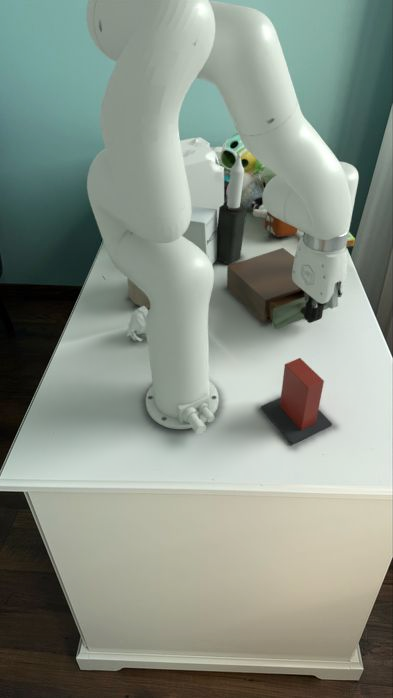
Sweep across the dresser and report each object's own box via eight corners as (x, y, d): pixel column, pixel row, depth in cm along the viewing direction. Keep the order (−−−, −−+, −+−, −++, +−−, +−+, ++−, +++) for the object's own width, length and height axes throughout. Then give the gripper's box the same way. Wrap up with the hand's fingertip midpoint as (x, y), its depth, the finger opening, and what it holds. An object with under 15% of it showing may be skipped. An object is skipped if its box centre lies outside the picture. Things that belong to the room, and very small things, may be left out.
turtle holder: (279, 181, 157) (254, 191, 150) (236, 164, 166) (210, 172, 160) (286, 140, 149) (259, 149, 142) (240, 124, 158) (213, 131, 151)
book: (315, 423, 84) (324, 380, 77) (301, 430, 83) (308, 387, 76) (293, 399, 88) (299, 357, 81) (279, 406, 87) (284, 363, 80)
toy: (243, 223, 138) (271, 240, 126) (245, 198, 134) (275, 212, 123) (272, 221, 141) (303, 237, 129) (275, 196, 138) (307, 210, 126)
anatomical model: (259, 214, 146) (238, 225, 140) (232, 182, 147) (210, 191, 141) (278, 191, 138) (257, 201, 132) (249, 157, 139) (226, 165, 133)
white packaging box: (207, 273, 119) (204, 223, 110) (179, 267, 121) (174, 218, 113) (219, 257, 123) (217, 208, 115) (192, 252, 126) (188, 204, 118)
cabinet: (320, 302, 109) (324, 278, 105) (263, 324, 104) (265, 300, 100) (280, 270, 119) (282, 247, 115) (226, 289, 114) (227, 265, 110)
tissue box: (206, 131, 132) (114, 147, 124) (236, 150, 121) (137, 170, 113) (206, 205, 146) (123, 224, 138) (233, 228, 135) (145, 250, 127)
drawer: (332, 311, 105) (335, 294, 103) (278, 332, 101) (280, 314, 98) (289, 276, 115) (291, 260, 112) (239, 294, 111) (240, 278, 108)
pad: (331, 425, 84) (332, 423, 84) (292, 445, 81) (292, 442, 81) (298, 391, 90) (298, 389, 90) (260, 408, 87) (260, 406, 87)
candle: (212, 256, 123) (222, 153, 107) (225, 249, 126) (237, 147, 110) (229, 265, 121) (241, 160, 104) (242, 257, 124) (256, 154, 107)
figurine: (202, 325, 104) (196, 294, 102) (136, 347, 97) (129, 313, 95) (184, 321, 110) (179, 291, 108) (121, 341, 103) (114, 310, 101)
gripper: (282, 223, 93) (275, 304, 105) (336, 262, 83) (321, 346, 95) (315, 213, 95) (305, 294, 107) (371, 249, 85) (352, 333, 97)
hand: (312, 318), depth 101 cm, fingers closed
